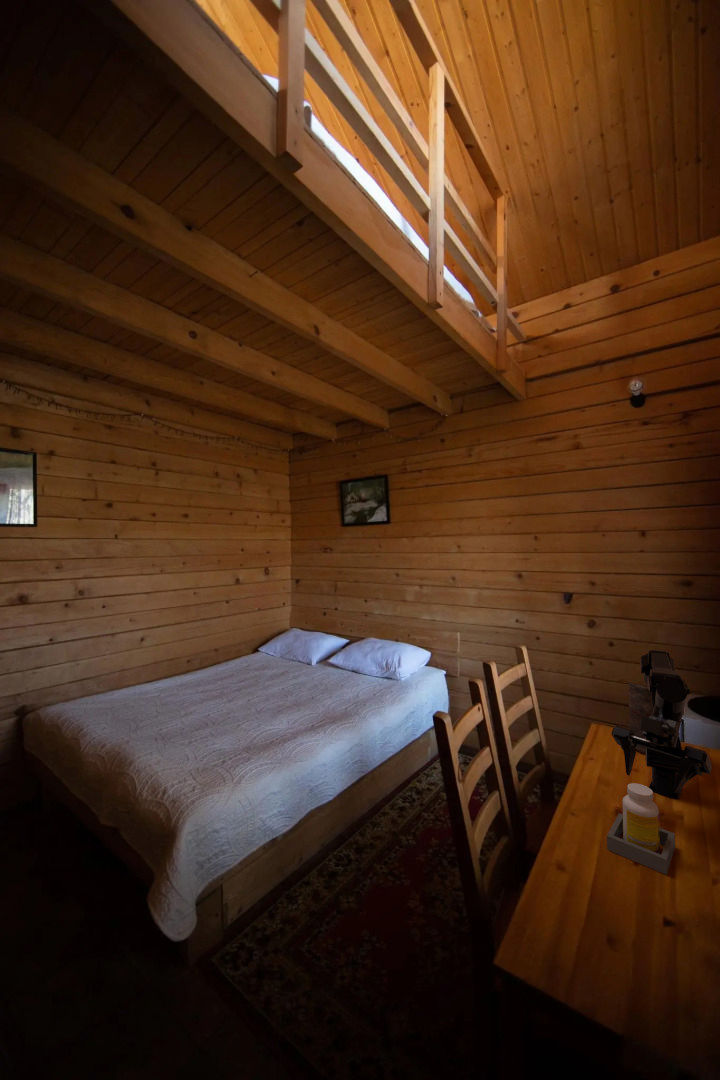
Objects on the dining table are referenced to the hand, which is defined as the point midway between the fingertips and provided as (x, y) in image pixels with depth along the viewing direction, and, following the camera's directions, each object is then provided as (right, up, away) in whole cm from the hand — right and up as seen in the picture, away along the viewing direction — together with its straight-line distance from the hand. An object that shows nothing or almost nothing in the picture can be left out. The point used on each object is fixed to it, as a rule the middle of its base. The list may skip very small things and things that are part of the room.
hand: (650, 783), depth 97 cm
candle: (+25, -12, +40) cm, 49 cm away
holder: (-4, -12, -4) cm, 13 cm away
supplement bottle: (-4, -12, -4) cm, 14 cm away
